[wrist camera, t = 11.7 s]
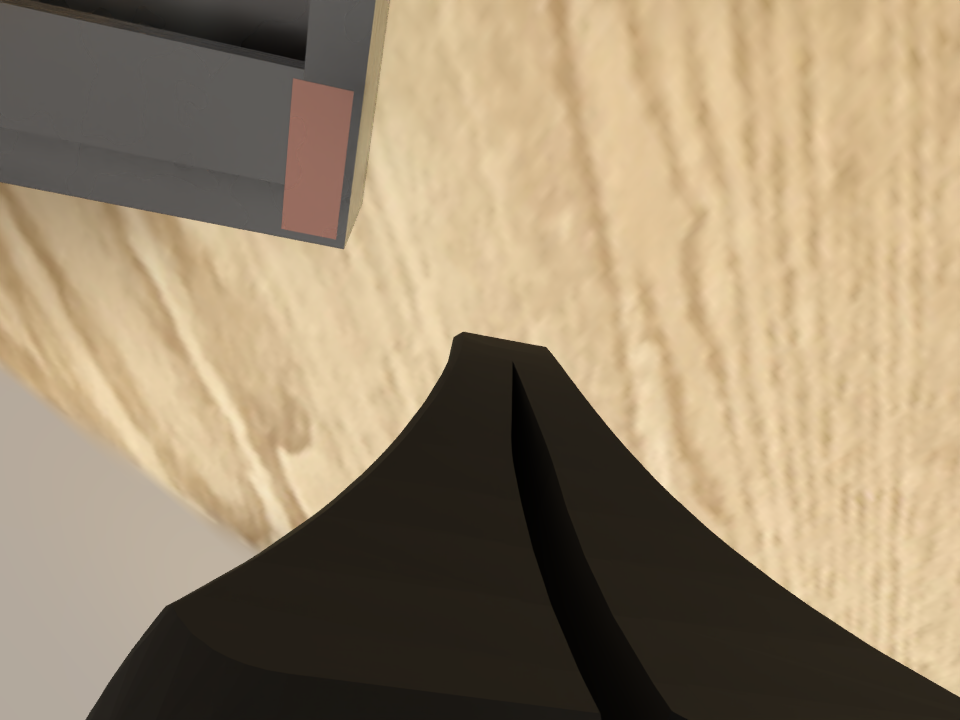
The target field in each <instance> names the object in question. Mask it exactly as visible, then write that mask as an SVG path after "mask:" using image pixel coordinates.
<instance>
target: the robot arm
mask: <svg viewBox="0 0 960 720" xmlns="http://www.w3.org/2000/svg"><path fill="white" fill-rule="evenodd" d="M86 720H960V697H958V696H957V695H955V694H953V693H951V692H950V691H948V690H946V689H944V688H943V687H941V686H939V685H937V684H936V683H934V682H932V681H930V680H929V679H927V678H925V677H923V676H922V675H920V674H918V673H916V672H915V671H913V670H911V669H909V668H908V667H906V666H904V665H902V664H901V663H899V662H897V661H896V660H894V659H892V658H890V657H889V656H887V655H885V654H883V653H882V652H880V651H878V650H877V649H875V648H873V647H872V646H870V645H869V644H867V643H865V642H864V641H862V640H861V639H859V638H858V637H856V636H855V635H853V634H852V633H850V632H848V631H847V630H845V629H844V628H842V627H841V626H839V625H838V624H836V623H835V622H833V621H832V620H830V619H829V618H827V617H826V616H824V615H822V614H821V613H819V612H818V611H816V610H815V609H813V608H812V607H810V606H809V605H808V604H806V603H805V602H803V601H802V600H800V599H799V598H798V597H796V596H795V595H793V594H792V593H791V592H789V591H788V590H786V589H785V588H783V587H782V586H781V585H779V584H778V583H776V582H775V581H774V580H772V579H771V578H770V577H769V576H767V575H766V574H765V573H763V572H762V571H761V570H759V569H758V568H757V567H756V566H754V565H753V564H752V563H750V562H749V561H748V560H746V559H745V558H744V557H743V556H741V555H740V554H739V553H737V552H736V551H735V550H734V549H732V548H731V547H730V546H729V545H727V544H726V543H725V542H724V541H722V540H721V539H720V538H719V537H718V536H716V535H715V534H714V533H713V532H712V531H710V530H709V529H708V528H707V527H706V526H705V525H704V524H703V523H701V522H700V521H699V520H698V519H697V518H696V517H695V516H694V515H693V514H692V513H690V512H689V511H688V510H687V509H686V508H685V507H684V506H683V505H682V504H681V503H680V502H678V501H677V500H676V499H675V498H674V497H673V496H672V495H671V494H670V493H669V492H668V491H667V490H666V489H665V488H664V487H663V486H662V485H661V484H660V483H659V482H658V481H657V480H656V479H655V478H654V477H653V476H652V475H651V474H650V473H649V472H648V471H647V470H646V469H645V468H644V467H643V465H642V464H641V463H640V462H639V461H638V460H637V459H636V458H635V457H634V456H633V455H632V454H631V453H630V451H629V450H628V449H627V448H626V447H625V446H624V445H623V444H622V442H621V441H620V440H619V439H618V438H617V437H616V435H615V434H614V433H613V432H612V431H611V430H610V428H609V427H608V426H607V425H606V424H605V422H604V421H603V420H602V419H601V417H600V416H599V415H598V414H597V412H596V411H595V410H594V409H593V407H592V406H591V405H590V404H589V402H588V401H587V400H586V398H585V397H584V396H583V394H582V393H581V392H580V391H579V389H578V388H577V387H576V385H575V384H574V383H573V381H572V380H571V379H570V377H569V376H568V375H567V373H566V372H565V371H564V369H563V368H562V367H561V365H560V364H559V363H558V361H557V360H556V359H555V357H554V356H553V355H552V353H551V352H550V351H549V350H548V349H547V347H542V346H537V345H532V344H526V343H521V342H515V341H510V340H505V339H499V338H494V337H489V336H483V335H478V334H472V333H467V332H462V333H460V334H458V335H457V336H455V337H454V338H453V342H452V347H451V351H450V356H449V360H448V363H447V365H446V367H445V369H444V371H443V373H442V375H441V376H440V378H439V380H438V381H437V383H436V385H435V386H434V388H433V389H432V391H431V393H430V394H429V396H428V398H427V399H426V401H425V402H424V403H423V405H422V406H421V408H420V409H419V410H418V411H417V413H416V414H415V415H414V417H413V418H412V419H411V421H410V422H409V423H408V424H407V426H406V427H405V428H404V430H403V431H402V432H401V433H400V435H399V436H398V437H397V438H396V439H395V440H394V442H393V443H392V444H391V445H390V446H389V447H388V448H387V449H386V450H385V452H384V453H383V454H382V455H381V456H380V457H379V458H378V459H377V460H376V461H375V462H374V463H373V464H372V465H371V466H370V467H369V468H368V469H367V470H366V471H365V472H364V473H363V474H362V475H361V476H359V477H358V478H357V479H356V480H355V481H354V482H353V483H352V484H350V485H349V486H348V487H347V488H346V489H345V490H344V491H343V492H341V493H340V494H339V495H338V496H337V497H336V498H335V499H333V500H332V501H331V502H330V503H329V504H327V505H326V506H325V507H324V508H322V509H321V510H320V511H319V512H317V513H316V514H315V515H313V516H312V517H311V518H309V519H308V520H306V521H305V522H303V523H302V524H301V525H299V526H298V527H296V528H295V529H293V530H292V531H291V532H289V533H288V534H286V535H285V536H283V537H282V538H281V539H279V540H278V541H276V542H275V543H273V544H272V545H271V546H269V547H268V548H266V549H265V550H263V551H262V552H260V553H259V554H257V555H256V556H254V557H253V558H251V559H249V560H248V561H246V562H245V563H243V564H241V565H239V566H238V567H236V568H234V569H232V570H230V571H229V572H227V573H225V574H223V575H222V576H220V577H218V578H216V579H214V580H213V581H211V582H209V583H207V584H206V585H204V586H202V587H200V588H199V589H197V590H195V591H193V592H192V593H190V594H188V595H186V596H184V597H183V598H181V599H179V600H177V601H175V602H173V603H171V604H169V605H167V606H166V607H165V608H164V609H163V610H162V612H161V613H160V614H159V615H158V617H157V618H156V619H155V620H154V622H153V623H152V624H151V625H150V627H149V628H148V629H147V631H146V632H145V633H144V634H143V636H142V637H141V638H140V640H139V641H138V642H137V644H136V645H135V646H134V648H133V649H132V650H131V652H130V653H129V654H128V656H127V657H126V659H125V660H124V662H123V663H122V665H121V666H120V667H119V669H118V670H117V672H116V673H115V674H114V676H113V677H112V679H111V680H110V682H109V683H108V685H107V687H106V688H105V690H104V691H103V693H102V695H101V696H100V698H99V699H98V701H97V703H96V704H95V706H94V707H93V709H92V710H91V712H90V713H89V715H88V717H87V718H86Z"/></svg>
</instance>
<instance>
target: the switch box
mask: <svg viewBox="0 0 960 720" xmlns="http://www.w3.org/2000/svg"><path fill="white" fill-rule="evenodd" d="M389 3H390V0H0V182H3V183H8V184H13V185H18V186H23V187H28V188H34V189H39V190H44V191H49V192H54V193H59V194H64V195H69V196H74V197H80V198H85V199H90V200H95V201H100V202H105V203H110V204H115V205H120V206H126V207H131V208H136V209H141V210H146V211H151V212H156V213H161V214H166V215H172V216H177V217H182V218H187V219H192V220H197V221H202V222H207V223H212V224H218V225H223V226H228V227H233V228H238V229H243V230H248V231H253V232H258V233H264V234H269V235H274V236H279V237H284V238H289V239H294V240H299V241H304V242H310V243H315V244H320V245H325V246H330V247H335V248H340V249H344V248H345V246H346V243H347V241H348V238H349V236H350V233H351V231H352V228H353V226H354V223H355V220H356V218H357V215H358V213H359V210H360V208H361V205H362V201H363V193H364V186H365V179H366V171H367V164H368V157H369V149H370V142H371V135H372V127H373V120H374V113H375V105H376V98H377V91H378V83H379V76H380V69H381V61H382V54H383V47H384V39H385V32H386V25H387V17H388V10H389Z"/></svg>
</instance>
